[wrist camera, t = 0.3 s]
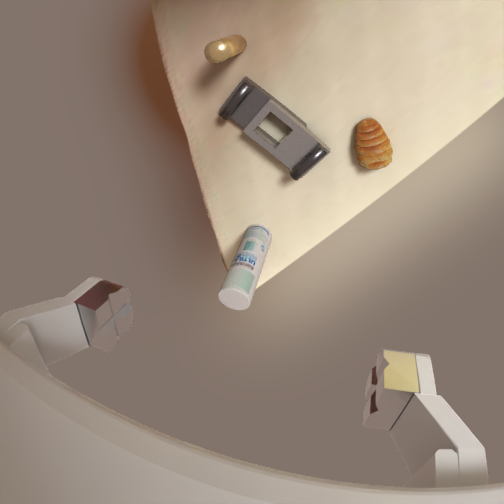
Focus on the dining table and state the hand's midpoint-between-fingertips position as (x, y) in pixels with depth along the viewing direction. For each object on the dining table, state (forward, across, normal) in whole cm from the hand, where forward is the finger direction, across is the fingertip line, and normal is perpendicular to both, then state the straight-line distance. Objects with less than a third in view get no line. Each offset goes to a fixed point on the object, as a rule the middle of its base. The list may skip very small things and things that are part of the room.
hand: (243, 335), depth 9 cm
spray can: (+61, +15, +24) cm, 67 cm away
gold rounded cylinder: (+48, +18, -17) cm, 54 cm away
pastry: (+54, -7, -1) cm, 55 cm away
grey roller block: (+53, +11, -2) cm, 54 cm away
